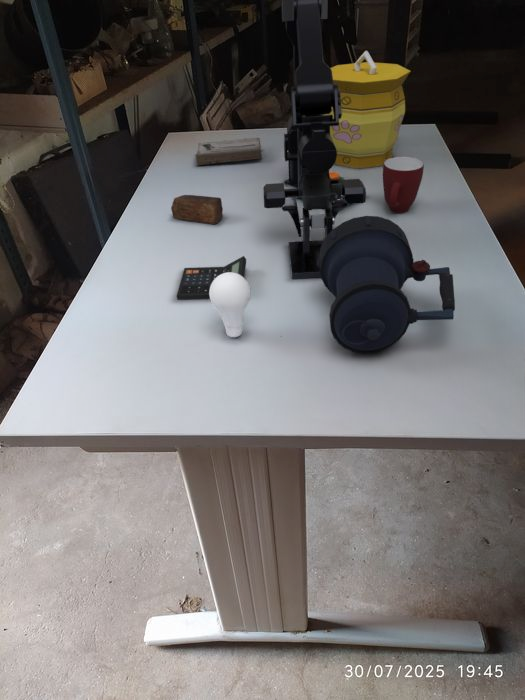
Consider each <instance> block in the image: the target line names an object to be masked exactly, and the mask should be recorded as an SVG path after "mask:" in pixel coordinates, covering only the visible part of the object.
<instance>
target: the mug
mask: <svg viewBox="0 0 525 700" xmlns="http://www.w3.org/2000/svg"><path fill="white" fill-rule="evenodd" d="M424 168H425V163H424V162H423V160H421V159H419V158H416V157H412V156H395V157H392V158H390V159H387V160H386V161H385V162H384V164H383V165H382V187H383V196H384V201H385V203H386V206H387V208H388V210H389V211H390V212H391V213H393V214H404V213H407V212H408V211H409V210H410V209H411V207H412V206H413V204H414V203H415V201H416V198H417V196H418V193H419V190H420V187H421V184H422V179H423V176H424V170H425V169H424Z"/></svg>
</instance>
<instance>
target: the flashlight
mask: <svg viewBox="0 0 525 700" xmlns="http://www.w3.org/2000/svg"><path fill="white" fill-rule="evenodd" d="M323 240H324V241H323V243H322V245H321V248H320V254H319V259H318V261H317V264H318V267H319V268H320V270H321V278H320V279H321V280H322V282H323V285H324V287H325V288H326V290H328V291H329V292H330V293H331V294H332V295H333V296H334V297H335V298H334V300H333V302H332V304H331V305H330V310H329V324H330V325H329V326H330V331H331V334H332V336H333V339H334V340H335V341H336V342H337V343H338V344H339V345H340V346H341V347H342V348H344V349H346V350H347V351H350V352H354V353H358V354H359V353H360V354H372V353H373V354H374V353H377V352H381V351H384V350H386V349H388V348H390V347H392V346H393V345H395V344H396V343H397V342H398V341H400V340H401V339H402V338H403V336H404V335H405V334H406V332H407V330H408V328H409V326H410V325H413V324H414V323H417V322H418V321H437V320H438V321H440V320H441V321H443V320H444V321H445V320H454V312H455V310H456V300H455V288H454V287H455V286H454V275H453V274H452V273H451V270H450V267H449V266H445V267H435V268H431V265H430V264H429V262H427V260H425V259H421V260H416V261H415V260H414V256H413V252H412V248H411V245H410V242H409V239H408V238H407V235H406V233H405V231H404V230H403V229H402V228H401V226H399V224H397V223H396V222H394V221H392V220H391V219H388V218H385V217H382V216H379V215H378V216H377V215H364V216H358V217H357V216H356V217H353V218H350V219H348V220H346V221H343V222H342V223H340V224H338V225H337V226H335V227H333V230H332V231H331V232H330V233H329V234H328V235H327V236H326V238H325V239H324V238H323ZM435 275H438V279H439V295H440V298H441V302H442V304H441V308H442V309H441V310H424V311H418V310H417V309H415V308H412V307H411V305H410V302H409V300H408V297H407V296H406V295H405V293H404V291H403V290H402V288H403V286H404V284H405V283H406V282H407V280H408V279H411V278H412V279H413V280H414V281H416V282H424V281H425V280H426V277H427V276H435Z"/></svg>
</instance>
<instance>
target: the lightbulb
mask: <svg viewBox="0 0 525 700" xmlns="http://www.w3.org/2000/svg"><path fill="white" fill-rule="evenodd" d="M209 296H210V299H209V300H210V302H211V304H212V306H213V307H214V308H215V309H216V311H218V313H219V314H220V317H221V319H222V324H223V325H224V328H225V333H226V335H227V336H228V337H231V338H237V337H240V336H241V335H242V334H243V323H244V314H245V311H246V308H247V306H248V305H249V302H250V301H251V296H252V289H251V286H250V283H249V282H248V280H247V279H246V278H245V277H242V276H241V275H239V274H237V273H233V272H227V273H223V274H221V275H219V276H217V277H216V278H215V279H214V280H213V282H212V284H211V286H210V290H209Z"/></svg>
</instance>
